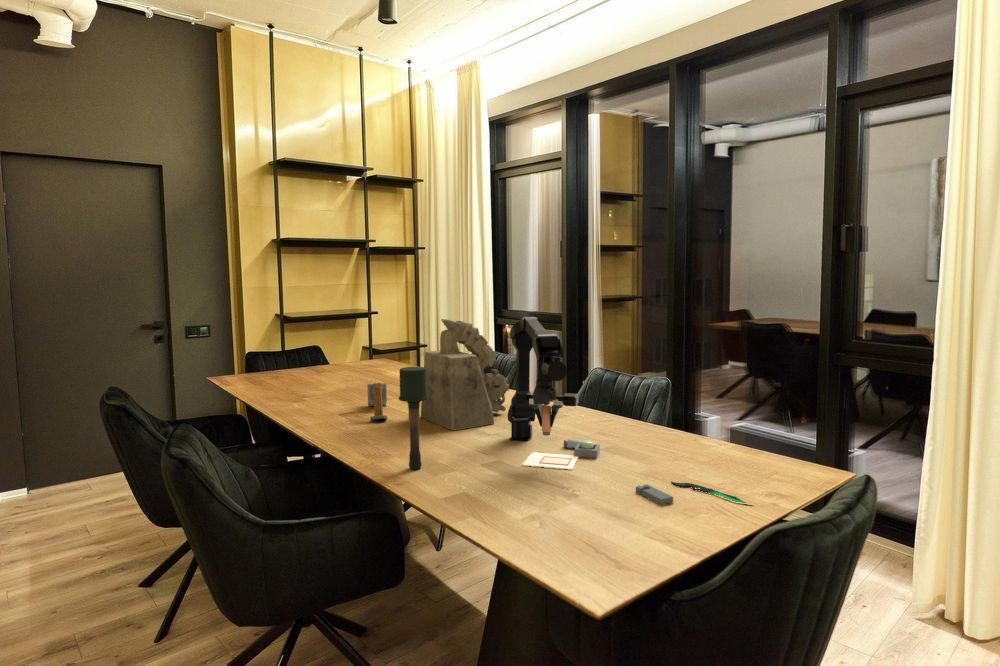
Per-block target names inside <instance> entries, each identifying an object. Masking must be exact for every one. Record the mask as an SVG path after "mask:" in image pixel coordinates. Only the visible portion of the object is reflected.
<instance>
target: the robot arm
mask: <svg viewBox="0 0 1000 666" xmlns="http://www.w3.org/2000/svg"><path fill="white" fill-rule="evenodd" d="M509 338H510V339H511V344H512V346H513V348H514V349H515V353H516V354H515V356H516V359H515V360H516V361H515V362H516V363H515V367H516V368H515V371H516V372H515V393H514V395H513V396H512V397H511V399H510V400H511V403H510V405H509V408H508V412H507V420H508V422H509V423H510V425H511V427H510V429H511V430H510V431H511V432H510V433H511V435H510V436H511V437H510V438H509V439H510V440H512V441H513V440H514V441H526V442H527V441H530V439H531V438H532V437H533V424H532V423H531V422H535V419H536V417H537V420H538V421H537V422H538V423H539V425H540V427H541V428H542V405H548V404H549V405H551V404H550V403H552V405H551V422H550V425H551V428H553V426H554V423H555V420H556V418H557V414H558V412H559V410H560V409H561V408H563V407H564V406H565V407H577V405H578V404H579V400H580V399H579V398H580V397H579V395H578V394H577V393H572V392H571V393H570V392H568V393H567V392H565V393H564V394H563V395H558V389H557V382H560V381H562V380H564V379H565V378H566V376H567V373H568V368H567V366H566V364H565V363H563V362H562V361H561V358H564V353H565V350H564V348H563V344H562V342H561V339H560V337H559V336H558V335H557V333H555V332H553V331H550V330H546V329H545V328H544V327H543V325H542V324H541V323H540V321H538V317H535V316H524V317H521V318H520V320H519V321H517V322H514V324H513V325H512V326H511V328H510V332H509ZM532 349H533V351H534V354H535V357H536V382H535V387H534V390H533V392H531V391H530V381H531V380H530V379H531V378H530V376H531V375H530V374H531V372H530V368H531V366H530V364H531V363H530V362H531V355H530V354H531V351H532Z"/></svg>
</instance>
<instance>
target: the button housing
mask: <svg viewBox="0 0 1000 666" xmlns="http://www.w3.org/2000/svg"><path fill="white" fill-rule="evenodd" d="M599 452H600V453H601V444H599V443H598V444H597V443H596V444H595V443H594V449H581V443H578V444H577V445H576V447H575V449H574V453H573V454H574V456H579V458H584V457H588V459H596V458H597V459H598V457H599V455H600V453H599ZM598 454H599V455H598Z"/></svg>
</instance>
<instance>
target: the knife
mask: <svg viewBox="0 0 1000 666" xmlns="http://www.w3.org/2000/svg"><path fill="white" fill-rule="evenodd" d="M670 483H671V485H672V486H674V485H676V486H675V487H677V486H679V487H678V488H681V487H687V488H689V487H692V488H693V489H694V490H693V489H692V488H691V489H692V490H693V491H695V490H700V491H699V492H701V491H703V492H702V493H704V492H707V493H710V494H709V495H712V494H716V495H718V496H719V495H720V496H723V497H724V498H727V499H730V500H732V501H735V502H742V503H747V502H746V501H744V500H742V499H741V498H738V496H735V495H731V494H730V495H729V494H727V493H723V492H720V491H717V490H715V489H713V488H711V487H710V488H708V487H706V486H701V485H698V484H695V483H689V482H674V481H672V480H671V481H670ZM695 488H700V489H695ZM707 493H706V494H707Z"/></svg>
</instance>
